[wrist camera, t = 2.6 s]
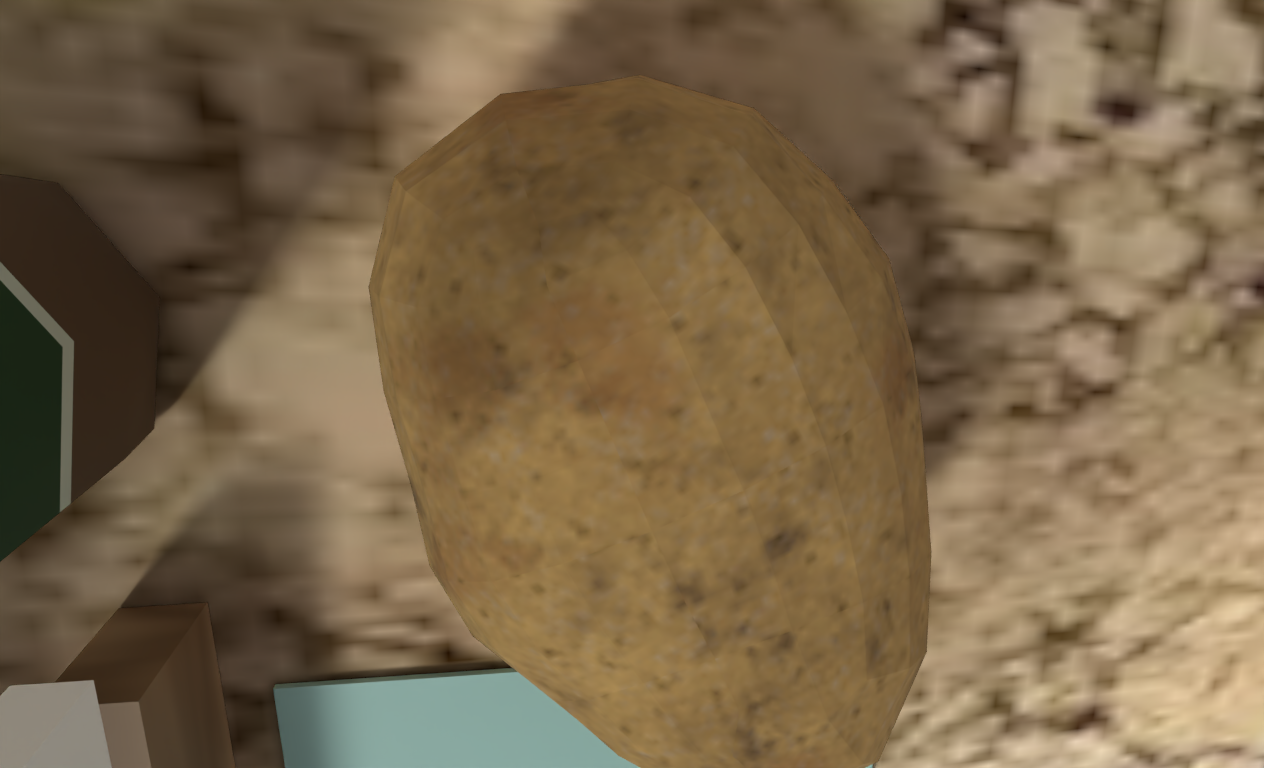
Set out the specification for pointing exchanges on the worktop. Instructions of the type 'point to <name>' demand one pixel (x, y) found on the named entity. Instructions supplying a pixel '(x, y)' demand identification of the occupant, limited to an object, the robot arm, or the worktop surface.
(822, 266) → the potato
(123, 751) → the corner arena
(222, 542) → the worktop surface
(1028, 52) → the worktop surface
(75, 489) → the beer bottle
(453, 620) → the worktop surface
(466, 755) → the pad
